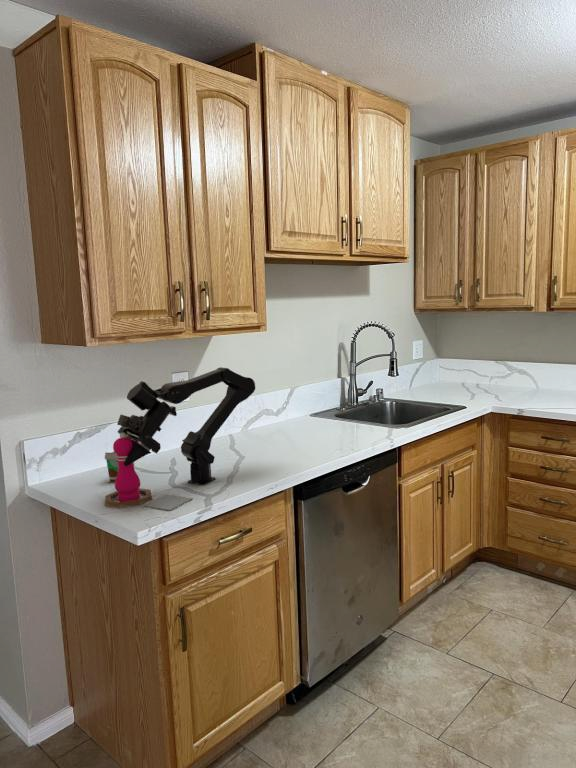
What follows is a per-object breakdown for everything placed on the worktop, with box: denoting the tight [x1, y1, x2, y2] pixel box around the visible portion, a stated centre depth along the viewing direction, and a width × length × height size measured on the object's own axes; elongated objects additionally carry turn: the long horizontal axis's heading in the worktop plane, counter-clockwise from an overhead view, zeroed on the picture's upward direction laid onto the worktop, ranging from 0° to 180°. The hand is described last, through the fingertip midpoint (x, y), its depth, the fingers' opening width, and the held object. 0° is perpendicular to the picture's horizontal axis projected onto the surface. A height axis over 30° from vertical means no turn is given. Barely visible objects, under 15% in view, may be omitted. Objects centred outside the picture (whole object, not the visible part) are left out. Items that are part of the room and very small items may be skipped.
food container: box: [104, 451, 135, 483], centre depth 195 cm, size 12×6×10 cm, turn 158°
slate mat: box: [141, 493, 194, 512], centre depth 170 cm, size 10×10×1 cm
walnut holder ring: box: [104, 487, 153, 509], centre depth 174 cm, size 13×13×1 cm
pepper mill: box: [112, 432, 141, 502], centre depth 173 cm, size 7×7×20 cm
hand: (121, 463), depth 172 cm, fingers closed on pepper mill, 5 cm apart
